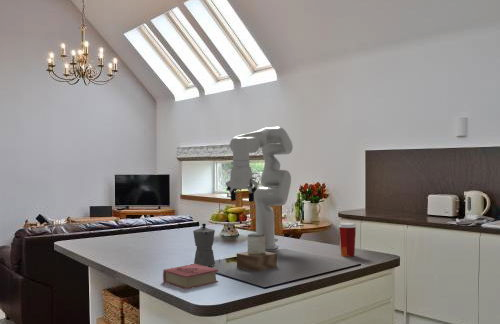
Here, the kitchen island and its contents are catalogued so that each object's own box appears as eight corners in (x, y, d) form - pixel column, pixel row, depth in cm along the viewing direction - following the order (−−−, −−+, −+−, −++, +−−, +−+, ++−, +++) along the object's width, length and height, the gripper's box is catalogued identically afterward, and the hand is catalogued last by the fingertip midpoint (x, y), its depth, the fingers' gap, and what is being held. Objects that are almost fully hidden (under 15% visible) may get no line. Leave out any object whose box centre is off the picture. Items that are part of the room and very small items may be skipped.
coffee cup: (357, 254, 221) (357, 222, 221) (355, 257, 213) (355, 224, 213) (339, 253, 224) (339, 222, 224) (337, 256, 216) (336, 224, 216)
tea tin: (254, 251, 201) (254, 233, 201) (265, 252, 198) (264, 233, 198) (247, 253, 196) (247, 234, 196) (258, 254, 193) (258, 235, 193)
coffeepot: (217, 267, 196) (217, 224, 196) (195, 269, 193) (194, 225, 194) (212, 260, 211) (211, 220, 211) (191, 261, 208) (191, 221, 209)
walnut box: (257, 263, 205) (257, 249, 205) (276, 267, 196) (276, 253, 196) (236, 267, 197) (236, 253, 197) (256, 272, 188) (256, 257, 188)
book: (193, 276, 183) (193, 263, 183) (218, 282, 172) (218, 269, 172) (162, 282, 173) (162, 269, 173) (186, 290, 162) (186, 276, 162)
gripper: (221, 164, 216) (222, 201, 216) (253, 164, 207) (254, 202, 207) (230, 163, 222) (231, 199, 222) (261, 163, 213) (262, 200, 213)
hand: (242, 201), depth 215 cm, fingers open, 9 cm apart
